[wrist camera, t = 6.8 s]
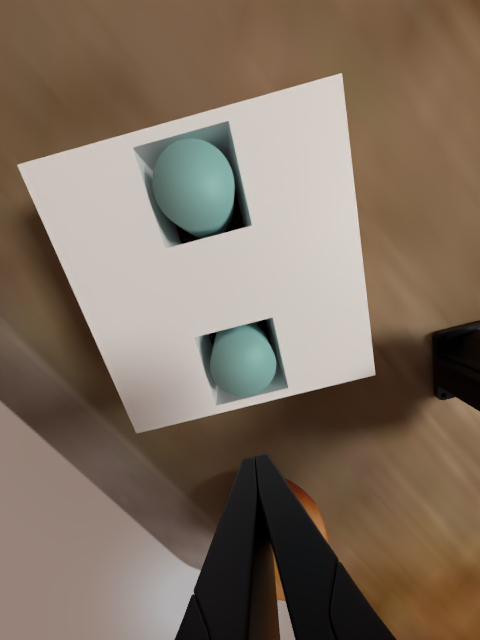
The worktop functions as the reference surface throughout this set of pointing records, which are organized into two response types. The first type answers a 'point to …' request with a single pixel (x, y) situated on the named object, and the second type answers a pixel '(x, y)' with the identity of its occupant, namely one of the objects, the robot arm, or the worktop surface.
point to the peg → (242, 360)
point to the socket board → (216, 254)
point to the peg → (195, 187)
